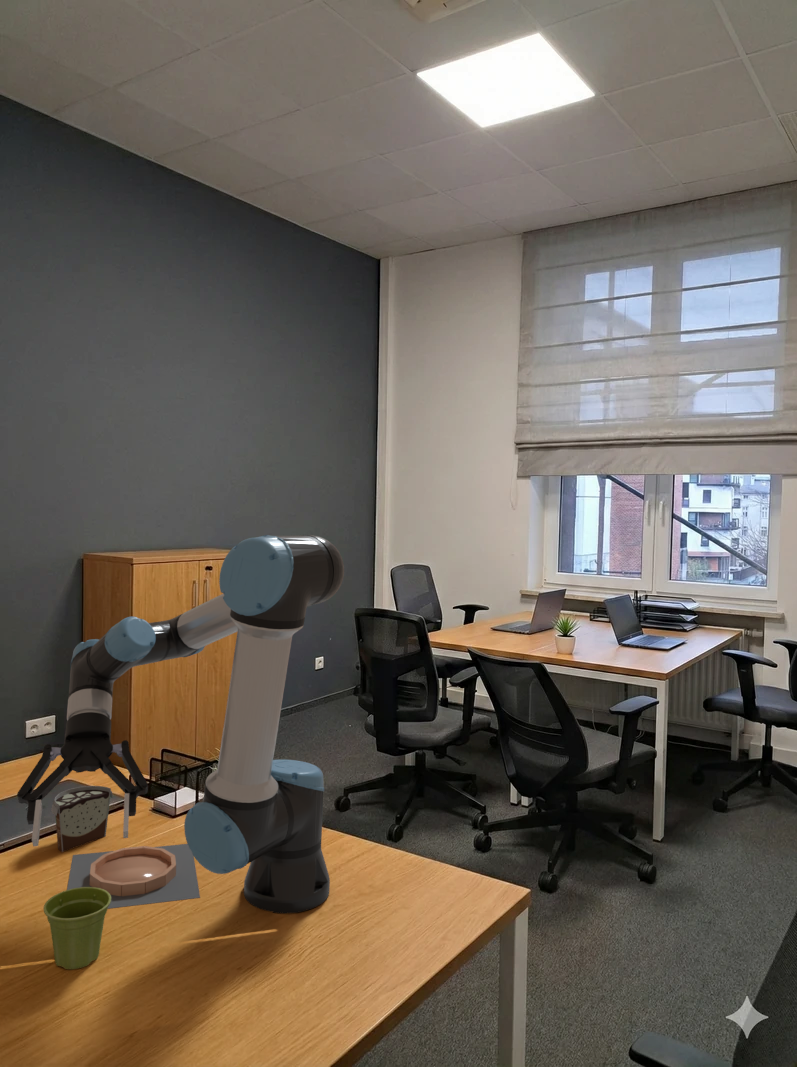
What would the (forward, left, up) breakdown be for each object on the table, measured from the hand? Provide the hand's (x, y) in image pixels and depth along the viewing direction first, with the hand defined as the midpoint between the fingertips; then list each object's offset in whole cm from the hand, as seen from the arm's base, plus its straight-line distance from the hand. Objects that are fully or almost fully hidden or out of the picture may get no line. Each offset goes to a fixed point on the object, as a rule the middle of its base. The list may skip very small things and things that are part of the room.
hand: (81, 839), depth 127 cm
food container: (+3, -32, -14) cm, 35 cm away
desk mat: (-8, -14, -14) cm, 21 cm away
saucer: (-8, -14, -14) cm, 21 cm away
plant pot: (0, +10, -14) cm, 17 cm away
